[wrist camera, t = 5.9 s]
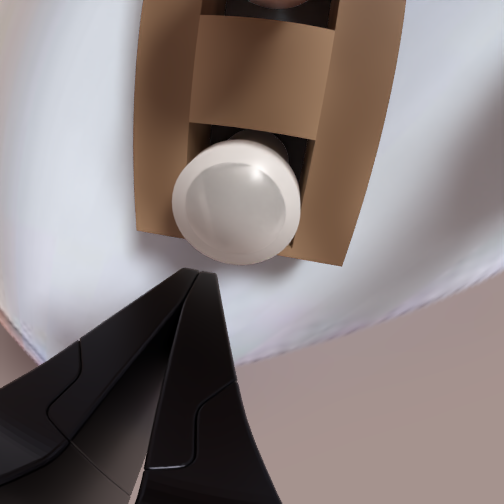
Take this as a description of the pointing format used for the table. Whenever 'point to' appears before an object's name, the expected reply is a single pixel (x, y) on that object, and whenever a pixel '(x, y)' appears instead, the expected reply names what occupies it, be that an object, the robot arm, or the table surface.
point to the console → (266, 104)
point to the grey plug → (238, 199)
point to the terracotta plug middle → (278, 3)
